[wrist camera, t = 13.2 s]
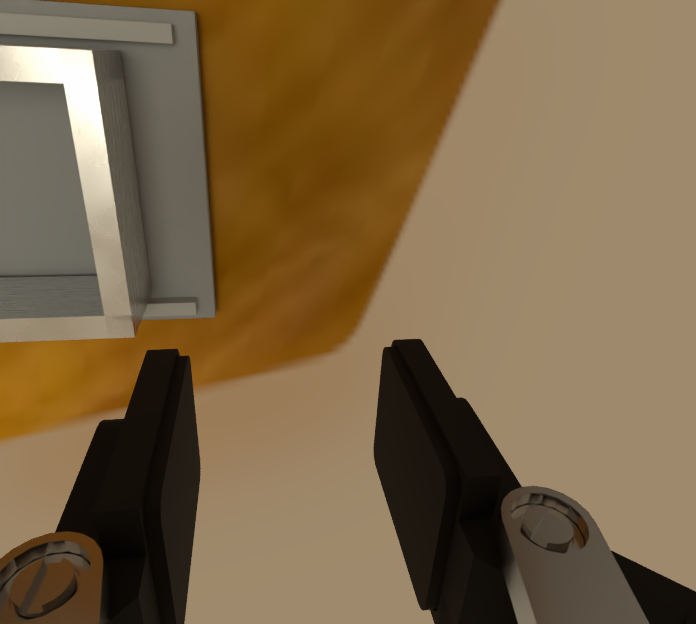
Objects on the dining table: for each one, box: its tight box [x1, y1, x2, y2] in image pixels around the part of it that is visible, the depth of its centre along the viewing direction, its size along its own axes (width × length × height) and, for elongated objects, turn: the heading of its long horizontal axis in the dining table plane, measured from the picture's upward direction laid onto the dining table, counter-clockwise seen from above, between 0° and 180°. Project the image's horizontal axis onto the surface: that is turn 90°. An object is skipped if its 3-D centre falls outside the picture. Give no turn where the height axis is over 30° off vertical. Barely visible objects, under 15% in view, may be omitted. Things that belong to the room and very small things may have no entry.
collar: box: [0, 44, 152, 342], centre depth 24 cm, size 10×12×5 cm
